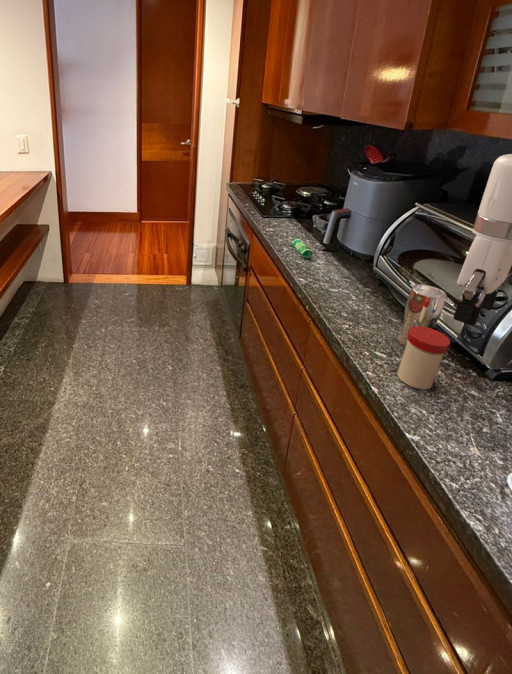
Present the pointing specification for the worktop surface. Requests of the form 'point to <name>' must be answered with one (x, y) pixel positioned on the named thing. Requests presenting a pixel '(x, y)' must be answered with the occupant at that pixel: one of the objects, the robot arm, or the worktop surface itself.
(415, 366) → the jar
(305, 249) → the candy
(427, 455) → the worktop surface
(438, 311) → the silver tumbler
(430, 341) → the red lid
